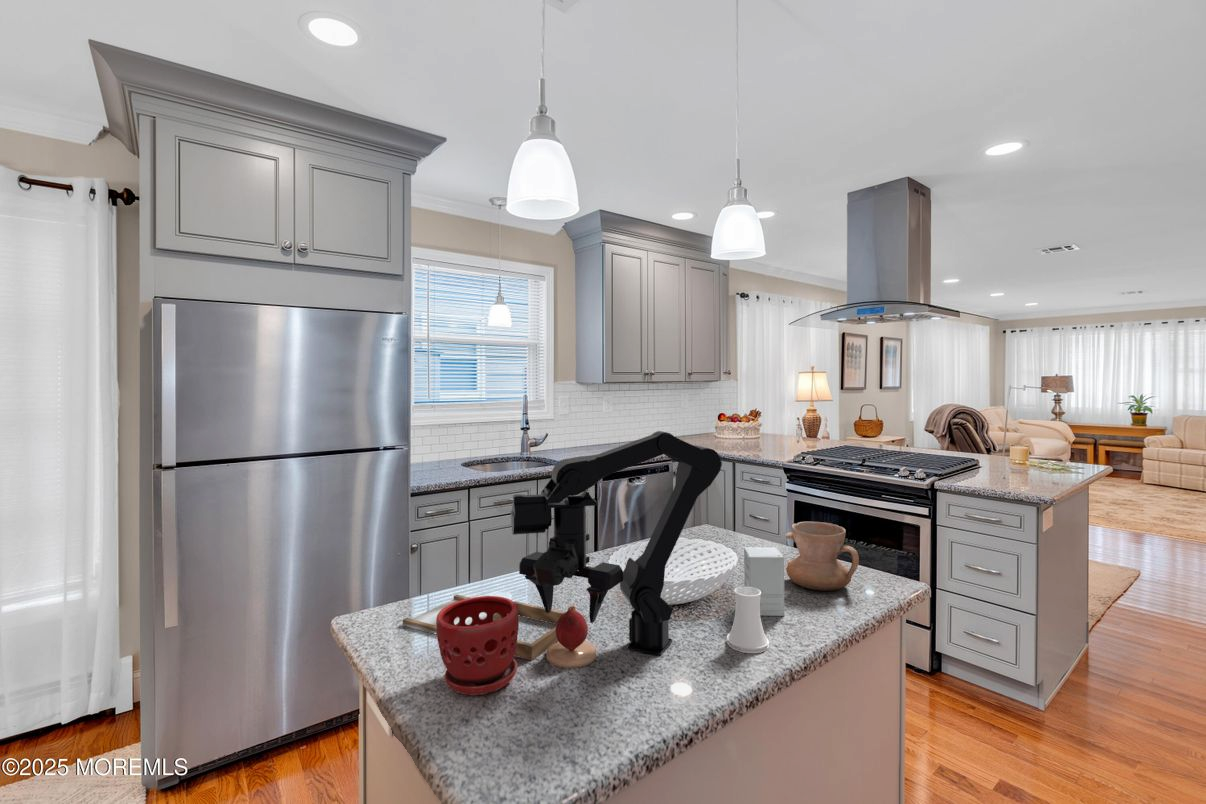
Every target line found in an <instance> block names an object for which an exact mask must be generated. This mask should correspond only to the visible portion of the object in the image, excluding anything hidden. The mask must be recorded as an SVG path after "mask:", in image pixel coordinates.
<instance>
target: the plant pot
mask: <svg viewBox="0 0 1206 804" xmlns="http://www.w3.org/2000/svg"><path fill="white" fill-rule="evenodd" d="M515 602H516V601H515ZM515 602H514V601H513V600H512V599H510V598H509V597H508V598H507V597H503V596H498V595H483V596H475V597H470V598H468V599H464V600H460V601H457V602H454V603H452V604H450V605H448V606H446V607H445V608H443V609H442V610H441V611H440V612H439V613H438V615H437V619H436V627H437V635H436V637H437V638H436V639H437V644H438V648H439V653H440V657H441V659H442V663H443V664H444V667H445V668H446V670H445V672H444V681H445V683H446V685H447V686H448V687H449V688H450V689H452V691H454V692H456V693H459V694H461V695H470V696H473V695H474V696H475V695H476V696H481V695H485V694H489V693H493V692H495V691H497V690H500V689H502V688H503V687H505V686H506V685H508V684H509V683H510V682H511V681H512V679H513V678H514V677H515V675H516V673H517V670H518V664H517V660H515V658H514V657H515V656H514V655H515V651H516V647H517V640H518V636H519V622H520V620H519V616H518V608H517V605H516V603H515ZM481 612H484V613H486V614H487V616H486V618H485V619H481V618H480V617H479V614H480V613H481ZM495 613H498V614H499V615H500V616H501V618H502V619H500V620H497V621H495V622H494V621H493V615H494V614H495ZM507 613H508V615H507ZM457 617H459V622H458V624H456V625H455V624H454V620H455V618H457ZM468 617H471V618H472V622H471V624H469V625H467V624H466V623H465V620H466V619H467V618H468ZM475 625H477V626H475Z"/></svg>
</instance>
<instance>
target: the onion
mask: <svg viewBox="0 0 1206 804" xmlns="http://www.w3.org/2000/svg"><path fill="white" fill-rule="evenodd" d="M564 612H565V613H564V614H563V615H562V616H561V617H560V618H559V620H558V621H557V624H555V627H556V630H555V631H556V638H557V640H558V642H559V643H560V644H561V645H562V646H563V647H565V648H567V649H569V650H571V651H573V650H575V649H576V648H577V647H578V646H580V645H581V644H582V643H583V642H584V641H586V639H587V636H588V634H589V628H588V623H587V621H586V618H585V616H584V615H583V614H581V613H580V612H579V611H577V609H576V606H575V605H573V604H571V605H569V607H568V609H567V611H564Z"/></svg>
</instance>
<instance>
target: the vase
mask: <svg viewBox="0 0 1206 804" xmlns="http://www.w3.org/2000/svg"><path fill="white" fill-rule="evenodd" d="M733 591H734V596H735V611H734V612H735V613H734V618H733V624H732V627H731V629H730V632H729V633H728V634H727V635H726V640H727V641H726V643H727V646H729V648H731V649H733V650H734V651H737V652H741V653H744V654H745V653H746V654H760V653H763V652H766V651H767V650H769V648H770V647H769V645H770V644H769V643H770V642H769V639H768V637H767V636H766V634H765V631H764V628H763V624H762V619H761V615H760V596H761V591H760V590H758V589H756V588H752V587H744V586H739V587H735V588H734V589H733Z"/></svg>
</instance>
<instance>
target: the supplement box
mask: <svg viewBox="0 0 1206 804" xmlns="http://www.w3.org/2000/svg"><path fill="white" fill-rule="evenodd" d="M743 565H744V566H743V567H744V570H743V572H744V575H743V577H744V579H743V580H744V582H743V585H744V586H743V587H752V588H756V589H758V590H760V591H761V596H760V616H766V617H767V616H771V617H774V616H775V617H784V616H785V557H784V555H782V553H781V552H780V551H779V549H778V548H777V547H750V546H748V547H745V546H744V547H743Z"/></svg>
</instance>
